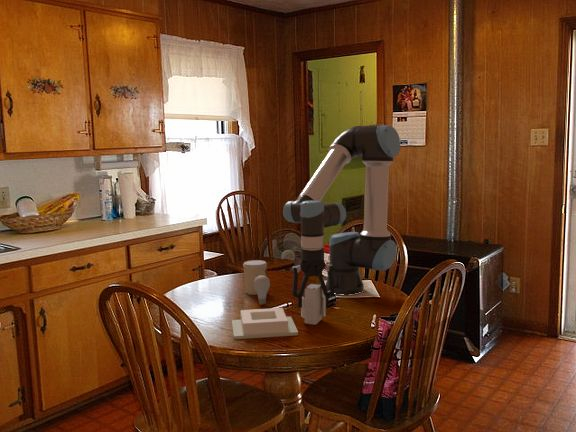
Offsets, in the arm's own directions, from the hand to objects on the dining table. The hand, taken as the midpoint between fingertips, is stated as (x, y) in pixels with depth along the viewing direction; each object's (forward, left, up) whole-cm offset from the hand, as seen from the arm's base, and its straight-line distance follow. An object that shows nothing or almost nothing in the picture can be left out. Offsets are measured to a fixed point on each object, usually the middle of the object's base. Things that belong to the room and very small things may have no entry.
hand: (313, 315), depth 195 cm
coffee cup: (+16, -41, -2) cm, 44 cm away
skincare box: (0, 0, -2) cm, 2 cm away
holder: (+17, +4, -2) cm, 18 cm away
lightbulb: (+15, -23, -2) cm, 28 cm away
